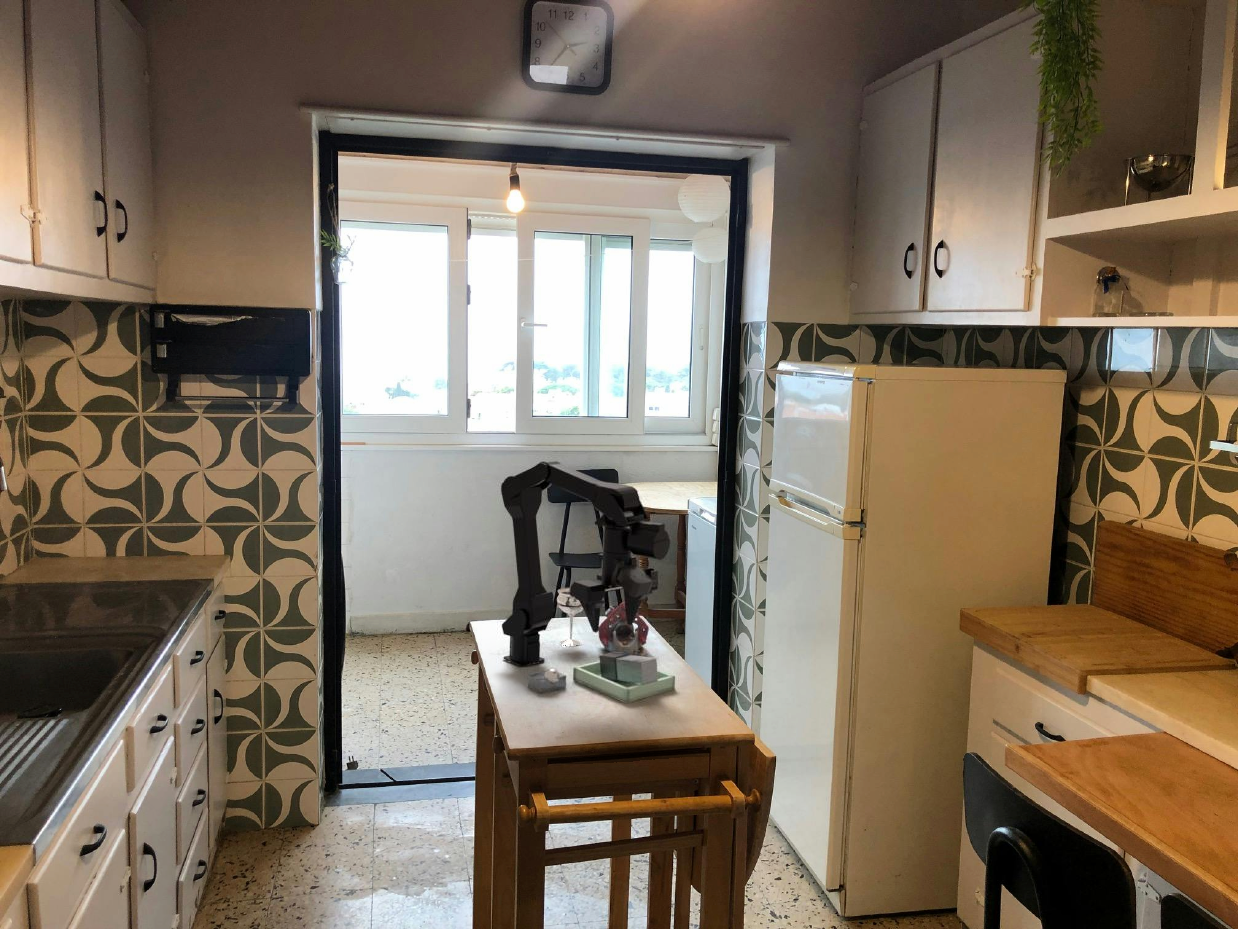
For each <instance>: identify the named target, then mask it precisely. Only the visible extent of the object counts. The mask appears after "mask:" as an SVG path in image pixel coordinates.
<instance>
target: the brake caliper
mask: <svg viewBox="0 0 1238 929" xmlns="http://www.w3.org/2000/svg"><path fill="white" fill-rule="evenodd" d="M617 614H618V615H617ZM604 616H605V617H606V618H605V619H604V620H602V622H600V623H599V628H598V632H597V633H598V639H599V641H600V643H601V644H602V646H603V647H604V650H605V651H607V652H608V653H612V652H616V651H617V652H625V653H631V655H634V656H637V654H638V653H639V654H640V655H641V656H645V655H646V654H647V650H646V648H645V646H644V645H646V644H647V638H648V635H649V631H650V630H649V628H650V627H649V625H648V624H647V622H645V620H644V619H643V618H642V617H641V616H640V614H638V613H637V614H636V616H635V619H634V621H633V624H632V625H629V624H627V620H626V612H625V601H623V602H621V603H620V604H619V605H618V606H617V607H616V608H614V607H613V606H612V605H609V608H608V609H607V610H605V614H604ZM634 624H635V625H637V627H636V628H635V627H634Z"/></svg>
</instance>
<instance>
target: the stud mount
mask: <svg viewBox="0 0 1238 929" xmlns="http://www.w3.org/2000/svg"><path fill="white" fill-rule="evenodd" d="M566 687H567V675H565V674H563V673H561V672H559V671H558V670H557V669H554V668H549V669H547V670H545V671H541V672H536V673H533V674H529V675H527V688H528V689H530V690H532V691H534V692H537V693H539V694H540V695H542V694H543V695H544V694H546V693H551V692H553V691H554V692H555V691H557V690H561V689H565V688H566Z"/></svg>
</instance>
